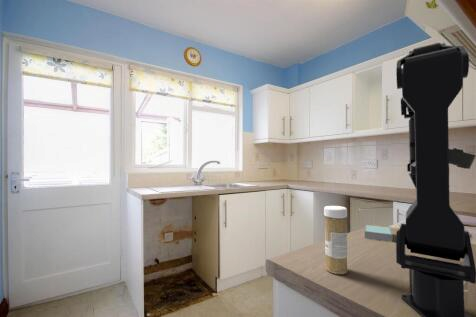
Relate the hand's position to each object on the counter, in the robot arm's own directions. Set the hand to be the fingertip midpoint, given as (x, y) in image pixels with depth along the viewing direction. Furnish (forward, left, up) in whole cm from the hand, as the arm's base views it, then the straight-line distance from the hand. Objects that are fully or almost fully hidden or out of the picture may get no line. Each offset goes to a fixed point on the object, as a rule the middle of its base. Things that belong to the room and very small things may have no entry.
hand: (425, 203), depth 55 cm
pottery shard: (+20, -10, -14) cm, 26 cm away
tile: (+13, +4, -12) cm, 18 cm away
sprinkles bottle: (-7, +24, -13) cm, 28 cm away
